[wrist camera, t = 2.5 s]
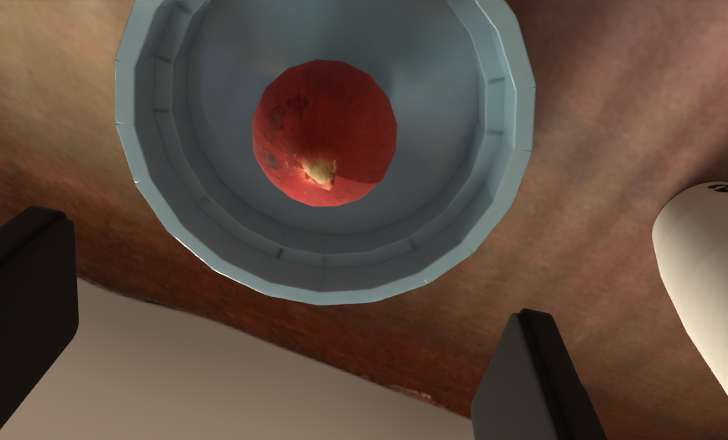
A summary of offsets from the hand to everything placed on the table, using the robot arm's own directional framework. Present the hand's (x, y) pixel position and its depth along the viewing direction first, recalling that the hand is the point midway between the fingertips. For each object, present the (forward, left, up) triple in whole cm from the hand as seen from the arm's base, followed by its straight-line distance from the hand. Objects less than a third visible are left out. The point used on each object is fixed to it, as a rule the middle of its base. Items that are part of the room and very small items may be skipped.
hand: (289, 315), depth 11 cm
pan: (0, 0, -16) cm, 16 cm away
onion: (0, 0, -16) cm, 16 cm away
